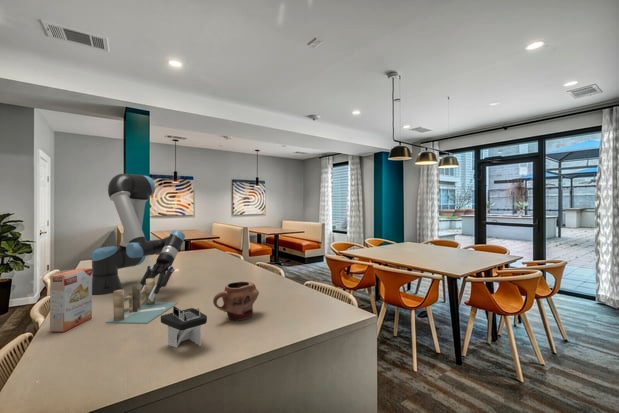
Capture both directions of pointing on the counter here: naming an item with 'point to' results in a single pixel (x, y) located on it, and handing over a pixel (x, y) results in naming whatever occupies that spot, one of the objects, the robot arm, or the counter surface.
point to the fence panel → (149, 287)
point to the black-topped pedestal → (184, 325)
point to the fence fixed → (119, 302)
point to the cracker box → (70, 299)
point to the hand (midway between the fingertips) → (145, 299)
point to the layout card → (144, 313)
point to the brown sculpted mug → (238, 300)
